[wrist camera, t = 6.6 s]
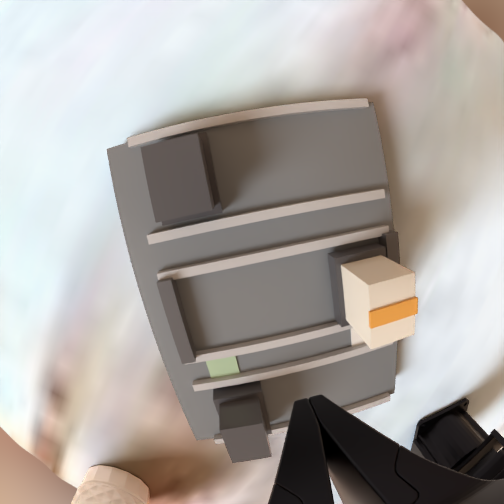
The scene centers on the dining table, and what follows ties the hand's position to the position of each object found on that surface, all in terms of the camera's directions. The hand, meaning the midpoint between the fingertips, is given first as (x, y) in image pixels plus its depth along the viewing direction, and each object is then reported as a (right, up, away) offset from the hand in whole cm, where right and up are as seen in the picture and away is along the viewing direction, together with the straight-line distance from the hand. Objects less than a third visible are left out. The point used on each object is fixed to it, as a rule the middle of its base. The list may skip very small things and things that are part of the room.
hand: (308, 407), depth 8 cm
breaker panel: (0, +2, +11) cm, 11 cm away
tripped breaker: (+4, +3, +9) cm, 10 cm away
